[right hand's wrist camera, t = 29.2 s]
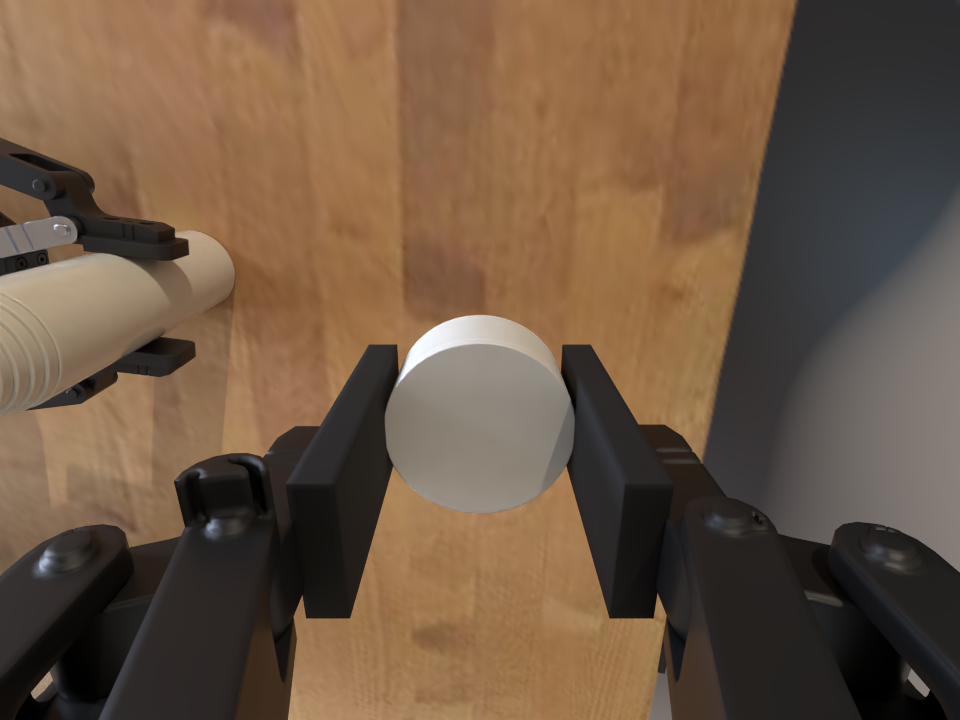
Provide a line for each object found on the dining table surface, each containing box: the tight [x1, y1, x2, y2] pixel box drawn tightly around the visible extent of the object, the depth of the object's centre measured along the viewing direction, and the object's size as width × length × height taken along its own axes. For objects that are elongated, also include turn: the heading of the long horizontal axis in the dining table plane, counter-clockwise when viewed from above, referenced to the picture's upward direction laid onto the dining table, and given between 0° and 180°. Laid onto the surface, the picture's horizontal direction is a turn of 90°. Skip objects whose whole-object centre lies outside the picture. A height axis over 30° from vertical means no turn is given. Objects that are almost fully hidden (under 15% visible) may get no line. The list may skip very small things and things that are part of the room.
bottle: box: [0, 231, 235, 416], centre depth 23 cm, size 5×5×19 cm
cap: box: [385, 315, 575, 513], centre depth 13 cm, size 5×5×2 cm
